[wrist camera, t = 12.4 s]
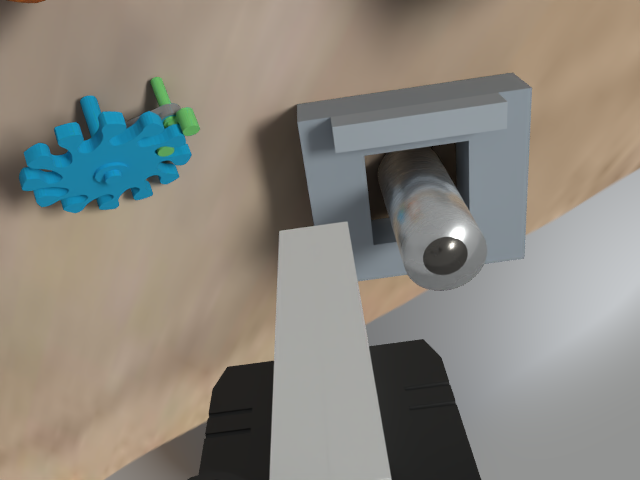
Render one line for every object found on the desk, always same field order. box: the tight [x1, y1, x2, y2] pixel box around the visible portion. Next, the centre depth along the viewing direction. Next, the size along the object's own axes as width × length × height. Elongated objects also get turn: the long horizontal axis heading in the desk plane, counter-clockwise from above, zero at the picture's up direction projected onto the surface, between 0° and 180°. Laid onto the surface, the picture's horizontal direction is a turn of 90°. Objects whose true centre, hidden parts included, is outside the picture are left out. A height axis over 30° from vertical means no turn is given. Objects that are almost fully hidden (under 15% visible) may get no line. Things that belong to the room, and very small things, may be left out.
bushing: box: [378, 147, 487, 291], centre depth 36 cm, size 4×4×11 cm
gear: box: [19, 77, 200, 213], centre depth 36 cm, size 11×6×10 cm
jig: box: [297, 73, 532, 281], centre depth 39 cm, size 14×12×5 cm
